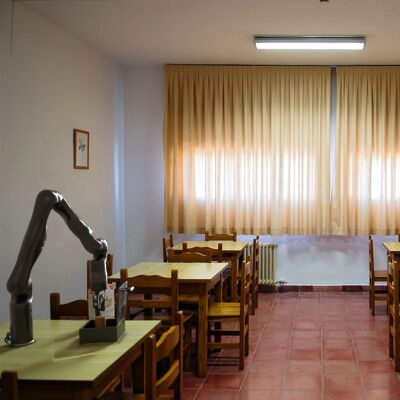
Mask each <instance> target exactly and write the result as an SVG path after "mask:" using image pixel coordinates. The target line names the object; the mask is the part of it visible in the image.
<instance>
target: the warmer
mask: <svg viewBox="0 0 400 400" xmlns="http://www.w3.org/2000/svg"><path fill="white" fill-rule="evenodd" d="M116 318H117V317H114V318H110V319H106V327H100V328H95V320H89V319H88V321H86V322H85V323H84V324H83V325H81V327H79V329H78V340H79V342H78V343H79V345H91V344H102V343H118V342H119V341H120V339H121V338H122V337H123V336H124V334H125V332H126V317H125V318H124V319H123V320H122V321H121V323H120V324H119V325H118V326H116Z"/></svg>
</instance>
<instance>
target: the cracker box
mask: <svg viewBox="0 0 400 400" xmlns="http://www.w3.org/2000/svg"><path fill="white" fill-rule="evenodd" d="M107 286H108V288H107V289H106V299H107V300H106V302H105V311H102V312H103V316H105V318H106V319H110V318H115V286H114V284H112V283H107ZM93 295H95V292H94V291H91V290H90V288H88V289H87V297H88V298H87V299H88V320H95V317H97V316H95V309H94V308H93V297H92V296H93ZM96 305H97V304H96Z"/></svg>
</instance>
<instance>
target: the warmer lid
mask: <svg viewBox="0 0 400 400" xmlns="http://www.w3.org/2000/svg"><path fill="white" fill-rule="evenodd" d="M134 289H135V287H134V286H130V287H129V286H128V280H127V281H126V280H125V282H123V283H121V285H120V286H118V288H117V301H116V317H115V318H116V326H118V325H119V324H120V323H121V321H122V320H123V319H124V318H125V319H126V314H127V295H128V293H129V294H130V293H131V292H132V291H134Z"/></svg>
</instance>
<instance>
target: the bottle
mask: <svg viewBox="0 0 400 400" xmlns="http://www.w3.org/2000/svg"><path fill="white" fill-rule="evenodd" d="M100 314H101V315H100V316H97V317H95V328H100V327H106V318H105V316H103V312H102V311H100Z"/></svg>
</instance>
